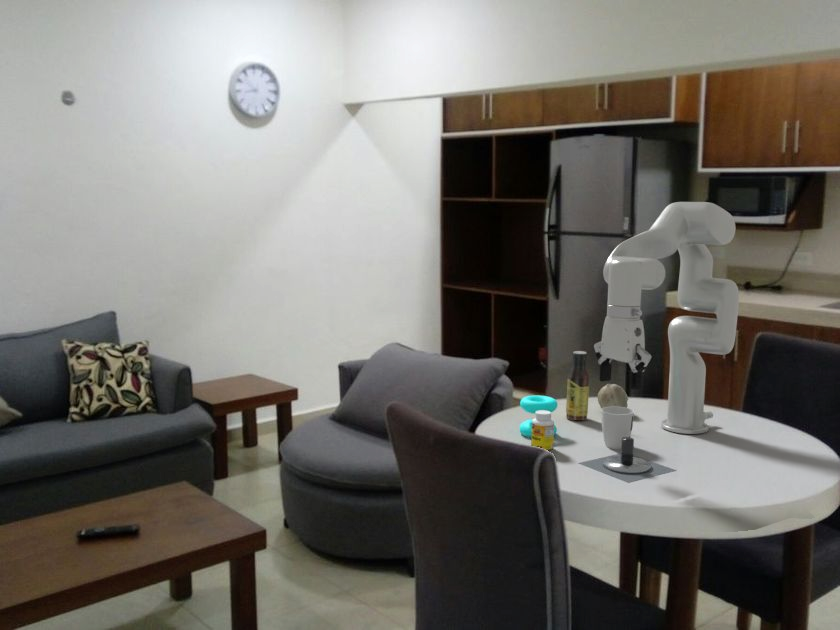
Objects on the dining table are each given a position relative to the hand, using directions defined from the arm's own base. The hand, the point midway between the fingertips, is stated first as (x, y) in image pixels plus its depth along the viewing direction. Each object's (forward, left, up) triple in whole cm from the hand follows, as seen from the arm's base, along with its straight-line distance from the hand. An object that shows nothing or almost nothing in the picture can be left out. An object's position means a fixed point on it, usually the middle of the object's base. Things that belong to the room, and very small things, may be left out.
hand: (619, 384), depth 193 cm
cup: (-11, -11, -20) cm, 26 cm away
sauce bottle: (-22, -37, -20) cm, 48 cm away
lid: (-1, +2, -20) cm, 20 cm away
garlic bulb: (-36, -37, -20) cm, 56 cm away
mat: (-1, +2, -20) cm, 20 cm away
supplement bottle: (+7, -19, -20) cm, 29 cm away
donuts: (-2, -31, -21) cm, 37 cm away
